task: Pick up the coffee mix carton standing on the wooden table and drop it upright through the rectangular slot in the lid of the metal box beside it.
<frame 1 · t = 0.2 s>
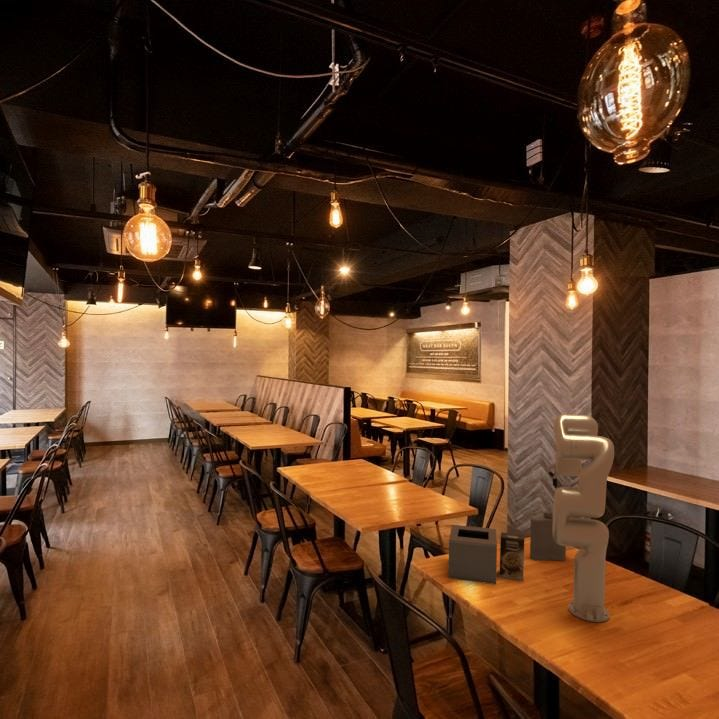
hand: (567, 488, 209), 31 cm above the table, tool pointing down, fingers open, 9 cm apart
coffee box: (511, 576, 193), on the table
slot box: (472, 571, 196), on the table
flask: (547, 558, 211), on the table
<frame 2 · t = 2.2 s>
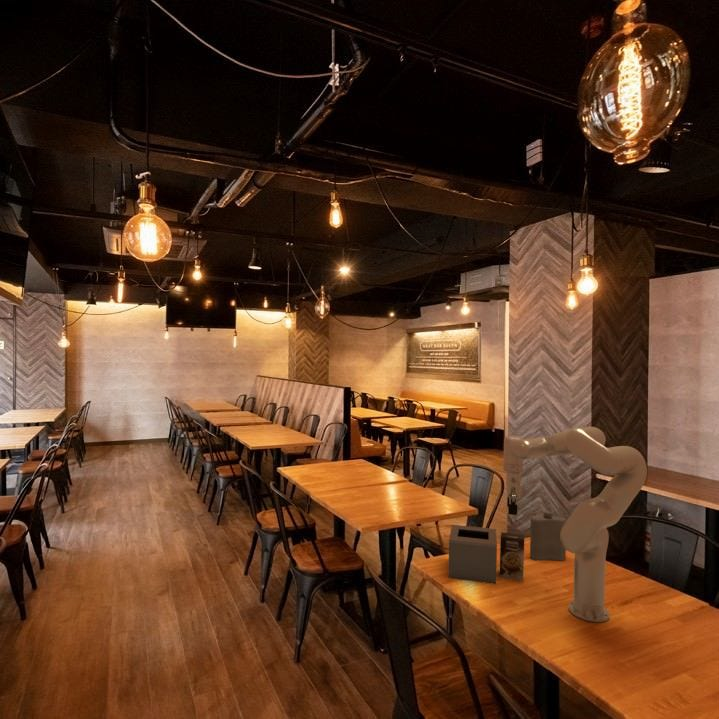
hand: (512, 510, 193), 26 cm above the table, tool pointing down, fingers open, 9 cm apart
nothing on the table moved.
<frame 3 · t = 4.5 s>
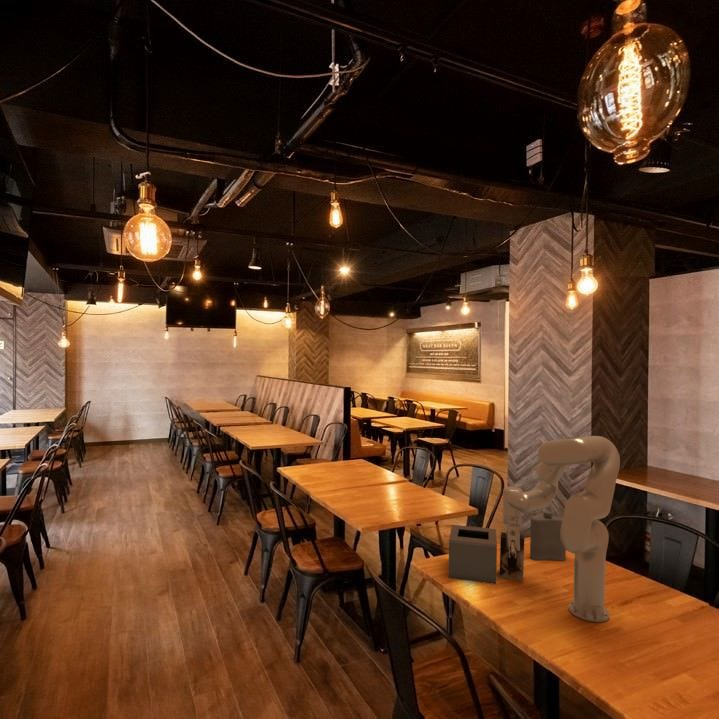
hand: (511, 563, 193), 5 cm above the table, tool pointing down, fingers closed on coffee box, 6 cm apart
coffee box: (511, 576, 193), on the table, touching gripper
everything else where it was.
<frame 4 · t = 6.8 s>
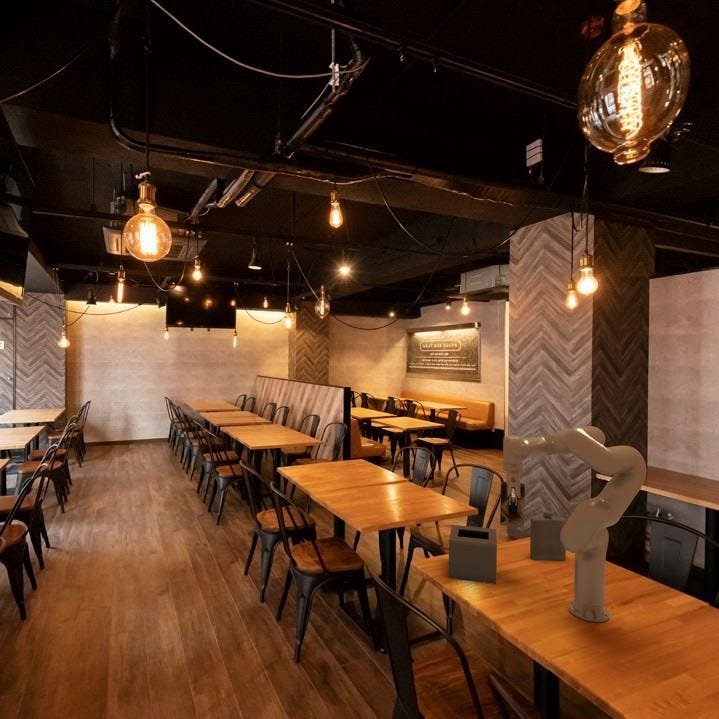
hand: (512, 511, 193), 25 cm above the table, tool pointing down, fingers closed on coffee box, 6 cm apart
coffee box: (512, 524, 193), point 20 cm above the table, touching gripper
everything else where it was.
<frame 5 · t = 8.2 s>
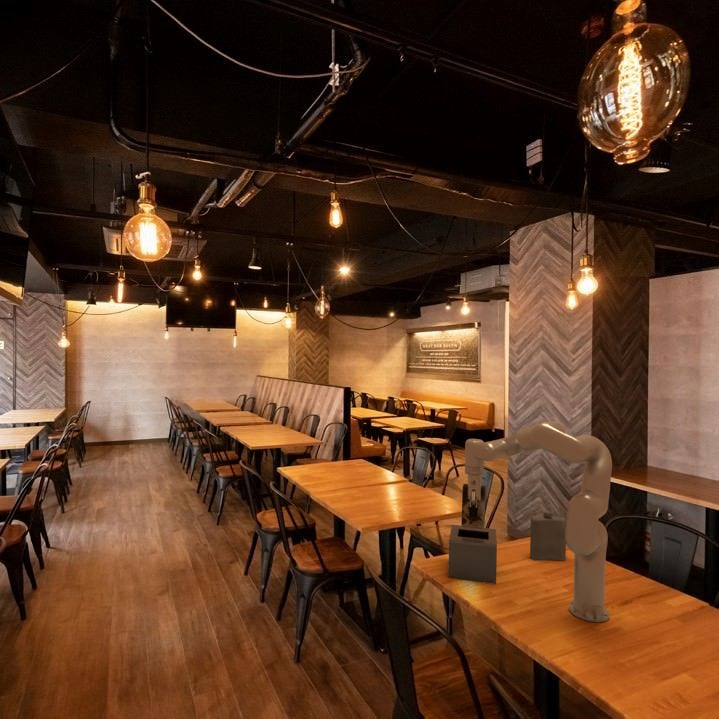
hand: (473, 513, 196), 23 cm above the table, tool pointing down, fingers closed on coffee box, 6 cm apart
coffee box: (473, 526, 196), point 18 cm above the table, touching gripper
everything else where it was.
when the fingers open (21 cm above the table, at t = 8.9 s): coffee box drops 16 cm, resting on slot box.
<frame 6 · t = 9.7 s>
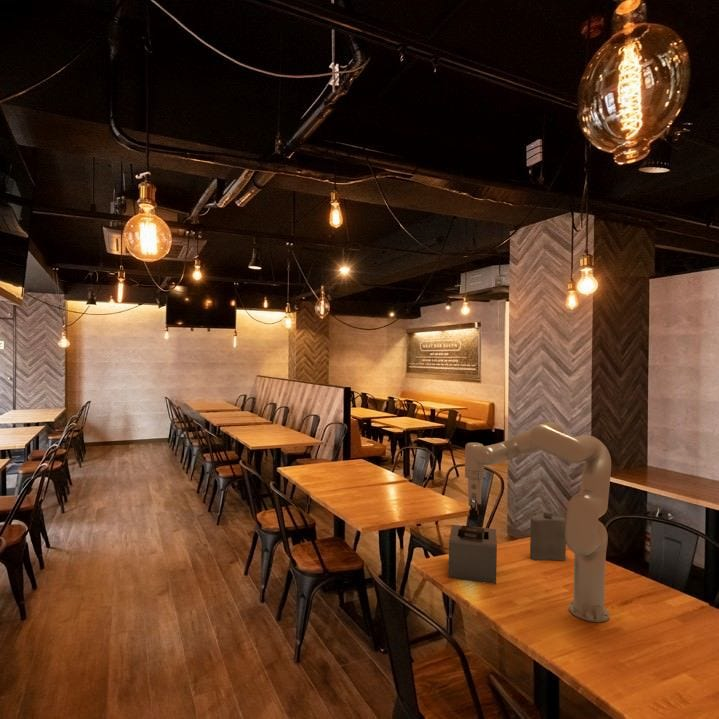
hand: (473, 516, 196), 22 cm above the table, tool pointing down, fingers open, 9 cm apart
coffee box: (471, 569, 197), point 1 cm above the table, touching slot box
everything else where it was.
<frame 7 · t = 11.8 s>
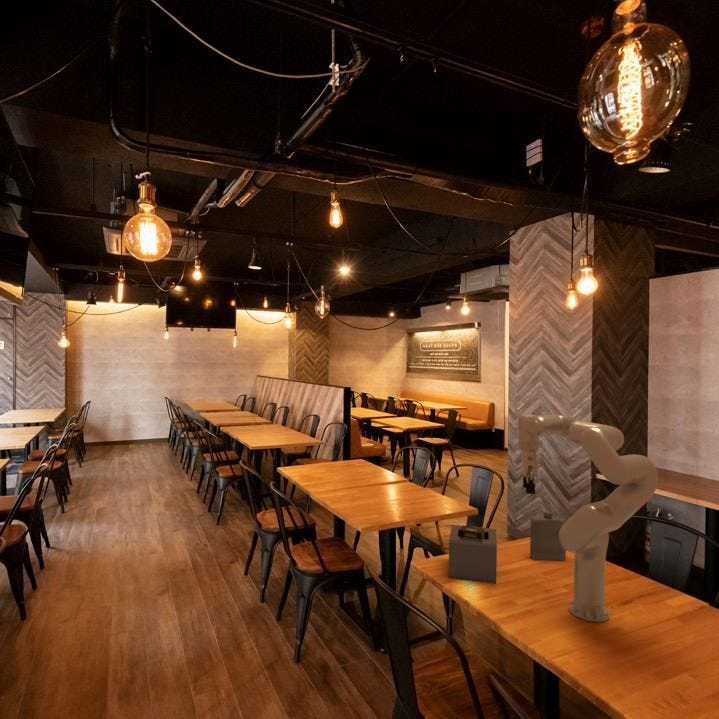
hand: (529, 490, 188), 35 cm above the table, tool pointing down, fingers open, 9 cm apart
nothing on the table moved.
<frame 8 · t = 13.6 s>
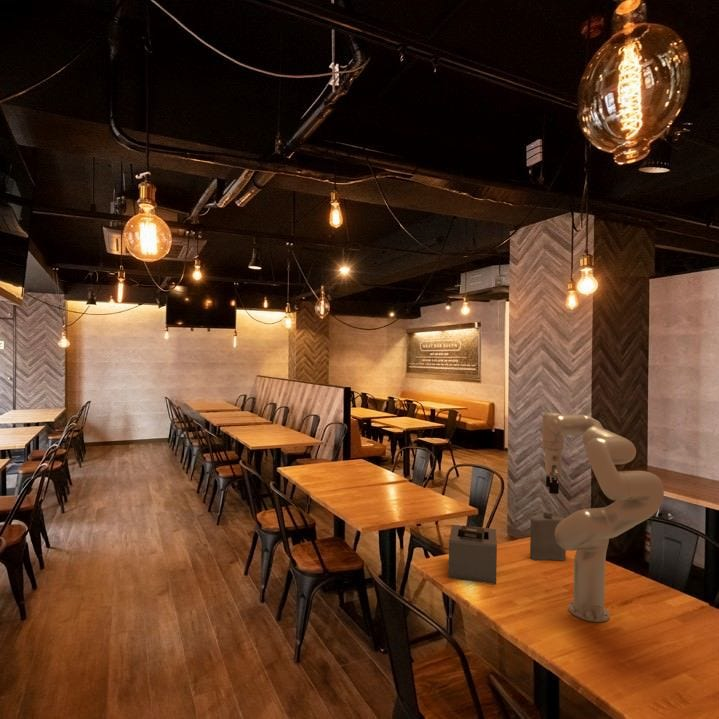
hand: (552, 490, 185), 36 cm above the table, tool pointing down, fingers open, 9 cm apart
nothing on the table moved.
at the end: coffee box inside the target area on the slot box (0.6 cm from its centre), point 0.8 cm above the slot box's base; the gripper is holding nothing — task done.
